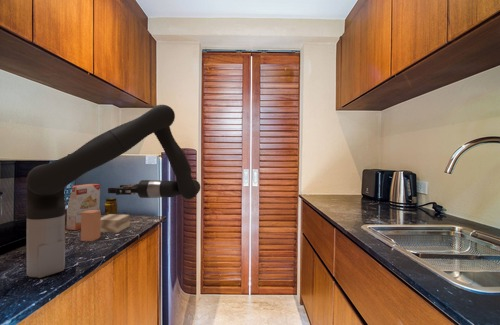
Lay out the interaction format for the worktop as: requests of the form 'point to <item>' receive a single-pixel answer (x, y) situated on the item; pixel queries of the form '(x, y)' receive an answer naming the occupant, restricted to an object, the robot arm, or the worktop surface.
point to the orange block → (90, 225)
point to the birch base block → (114, 222)
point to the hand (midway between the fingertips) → (114, 189)
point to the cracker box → (82, 203)
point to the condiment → (110, 206)
